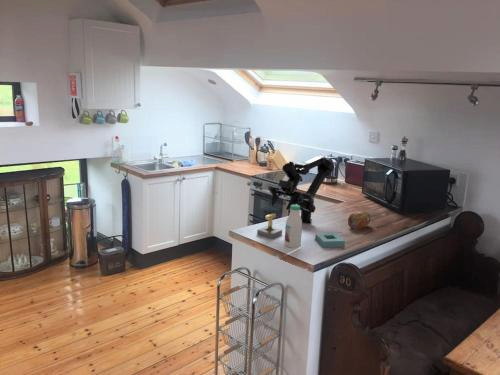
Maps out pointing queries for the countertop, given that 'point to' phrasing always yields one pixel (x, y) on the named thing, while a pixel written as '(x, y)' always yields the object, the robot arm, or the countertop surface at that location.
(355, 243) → the countertop surface
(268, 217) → the brass T-key
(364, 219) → the tin
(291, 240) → the milk bottle
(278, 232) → the charcoal socket block
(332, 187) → the countertop surface
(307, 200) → the robot arm
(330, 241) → the teal square socket block
